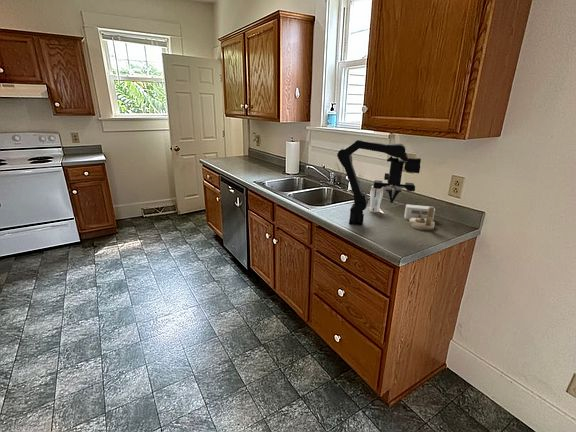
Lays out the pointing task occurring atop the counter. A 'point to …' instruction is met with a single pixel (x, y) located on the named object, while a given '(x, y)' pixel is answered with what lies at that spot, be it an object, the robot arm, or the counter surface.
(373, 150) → the robot arm
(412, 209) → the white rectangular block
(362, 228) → the counter surface
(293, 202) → the counter surface
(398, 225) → the counter surface
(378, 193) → the beer glass
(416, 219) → the cam dial
